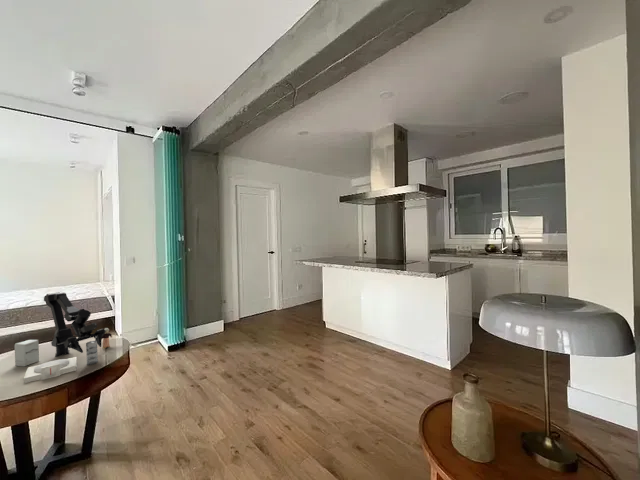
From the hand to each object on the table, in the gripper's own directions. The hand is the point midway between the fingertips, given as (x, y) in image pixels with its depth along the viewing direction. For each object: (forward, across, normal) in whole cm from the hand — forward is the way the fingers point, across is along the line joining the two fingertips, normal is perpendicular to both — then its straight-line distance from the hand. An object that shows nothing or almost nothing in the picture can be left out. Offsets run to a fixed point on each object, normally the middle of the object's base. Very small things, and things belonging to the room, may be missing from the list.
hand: (91, 349), depth 165 cm
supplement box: (-20, -15, +31) cm, 40 cm away
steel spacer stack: (+6, 0, +6) cm, 8 cm away
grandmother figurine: (-8, +17, +19) cm, 27 cm away
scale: (-1, -15, +12) cm, 19 cm away
